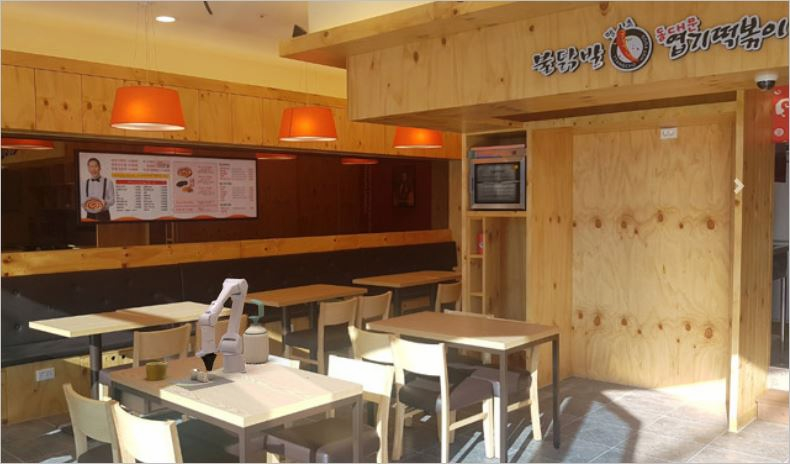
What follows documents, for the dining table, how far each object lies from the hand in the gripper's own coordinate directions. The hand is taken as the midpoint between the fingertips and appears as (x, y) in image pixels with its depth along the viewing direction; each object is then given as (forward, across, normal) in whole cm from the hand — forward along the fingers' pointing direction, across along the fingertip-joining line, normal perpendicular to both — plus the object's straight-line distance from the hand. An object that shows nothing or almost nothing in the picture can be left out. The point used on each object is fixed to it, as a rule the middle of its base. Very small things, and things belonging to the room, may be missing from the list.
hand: (209, 370), depth 312 cm
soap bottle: (+5, -40, -6) cm, 41 cm away
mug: (+5, +6, -25) cm, 26 cm away
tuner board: (+5, +5, -1) cm, 7 cm away
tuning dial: (+4, +3, -2) cm, 5 cm away
